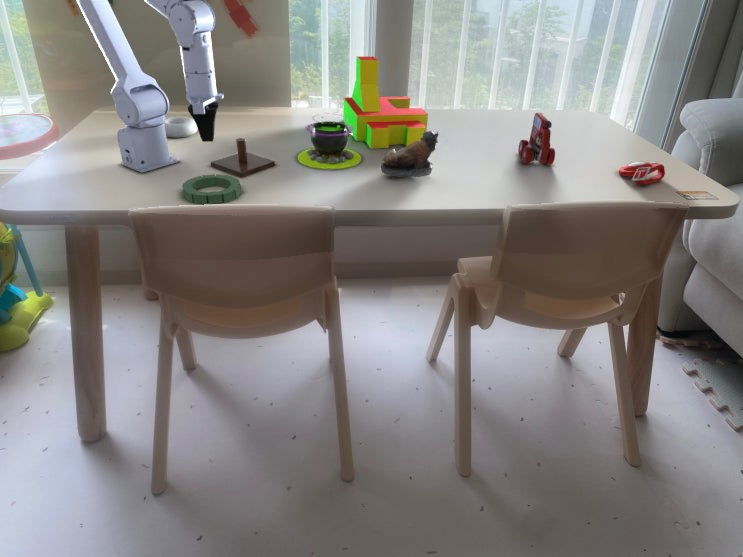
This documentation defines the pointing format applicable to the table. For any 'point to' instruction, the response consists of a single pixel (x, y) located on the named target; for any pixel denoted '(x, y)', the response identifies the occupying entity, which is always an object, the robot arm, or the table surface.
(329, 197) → the table surface
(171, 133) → the donut
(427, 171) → the brown cat figurine
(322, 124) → the toy cauldron
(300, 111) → the table surface
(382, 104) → the building blocks toy
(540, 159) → the toy fire truck
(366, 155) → the table surface
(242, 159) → the post
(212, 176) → the ring
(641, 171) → the tracker holder
